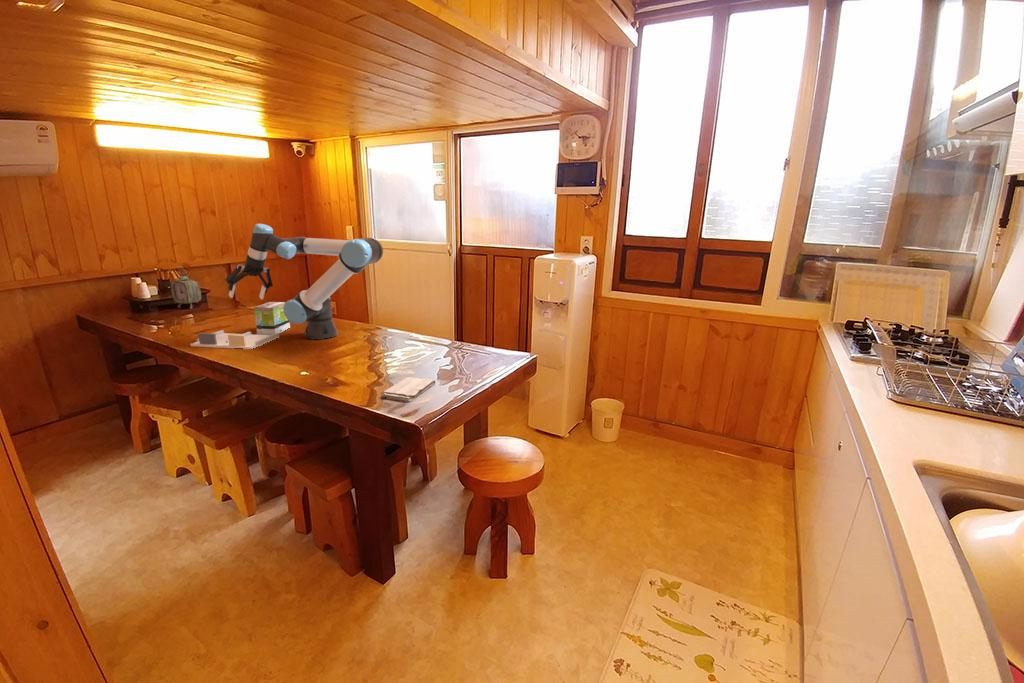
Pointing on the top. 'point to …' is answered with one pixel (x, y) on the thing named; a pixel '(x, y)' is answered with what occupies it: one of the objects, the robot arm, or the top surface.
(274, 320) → the tea box
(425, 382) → the washcloth
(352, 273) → the robot arm
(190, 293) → the tabletop clock
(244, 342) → the tag dock
